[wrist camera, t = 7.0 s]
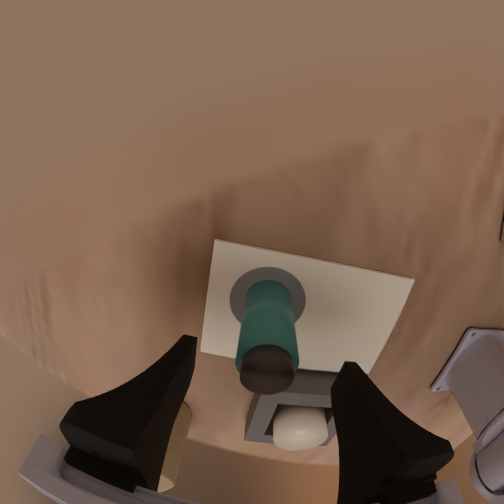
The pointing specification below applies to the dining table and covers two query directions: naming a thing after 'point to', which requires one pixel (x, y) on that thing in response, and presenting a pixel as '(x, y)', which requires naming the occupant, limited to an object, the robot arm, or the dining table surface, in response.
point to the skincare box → (503, 237)
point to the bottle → (267, 339)
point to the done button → (299, 427)
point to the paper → (306, 304)
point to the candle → (175, 449)
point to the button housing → (299, 393)
